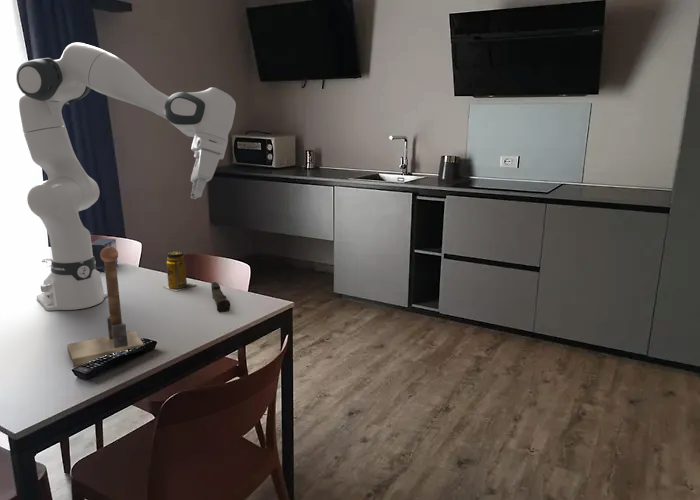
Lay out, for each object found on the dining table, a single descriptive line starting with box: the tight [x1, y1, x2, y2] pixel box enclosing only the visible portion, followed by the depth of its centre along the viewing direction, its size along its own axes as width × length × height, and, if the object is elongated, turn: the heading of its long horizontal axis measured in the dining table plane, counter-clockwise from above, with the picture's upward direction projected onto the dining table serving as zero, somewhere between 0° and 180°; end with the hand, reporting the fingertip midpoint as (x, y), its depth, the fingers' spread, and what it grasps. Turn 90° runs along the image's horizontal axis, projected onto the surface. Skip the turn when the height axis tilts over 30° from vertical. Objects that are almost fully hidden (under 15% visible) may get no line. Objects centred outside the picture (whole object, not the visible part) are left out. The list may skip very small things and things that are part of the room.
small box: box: [91, 238, 119, 272], centre depth 209 cm, size 11×6×10 cm, turn 179°
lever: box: [100, 246, 123, 336], centre depth 136 cm, size 4×4×24 cm
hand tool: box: [211, 281, 231, 313], centre depth 173 cm, size 19×4×5 cm, turn 20°
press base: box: [66, 316, 145, 368], centre depth 137 cm, size 16×10×8 cm, turn 123°
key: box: [41, 258, 53, 267], centre depth 217 cm, size 12×1×4 cm
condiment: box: [164, 251, 196, 292], centre depth 188 cm, size 7×8×12 cm
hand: (195, 197), depth 149 cm, fingers open, 8 cm apart
